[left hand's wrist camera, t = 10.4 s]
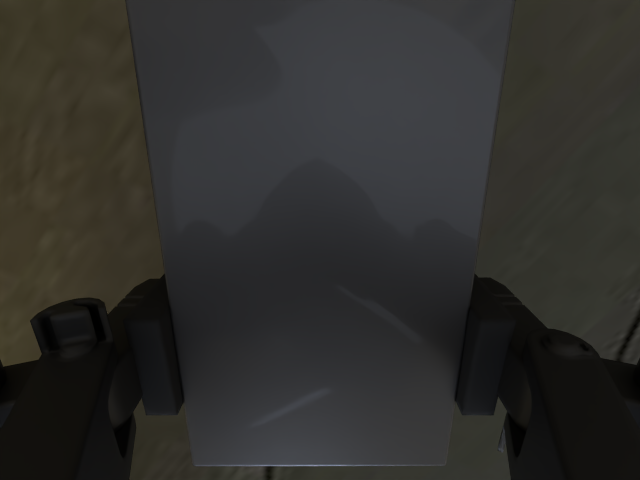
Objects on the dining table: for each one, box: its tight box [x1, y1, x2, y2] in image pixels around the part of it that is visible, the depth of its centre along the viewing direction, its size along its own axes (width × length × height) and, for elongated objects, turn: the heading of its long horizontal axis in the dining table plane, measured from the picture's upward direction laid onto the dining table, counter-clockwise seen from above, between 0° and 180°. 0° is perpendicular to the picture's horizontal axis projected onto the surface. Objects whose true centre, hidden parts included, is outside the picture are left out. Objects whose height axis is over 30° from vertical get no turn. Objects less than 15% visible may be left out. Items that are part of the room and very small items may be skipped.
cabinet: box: [125, 0, 515, 466], centre depth 12 cm, size 18×7×11 cm, turn 0°
